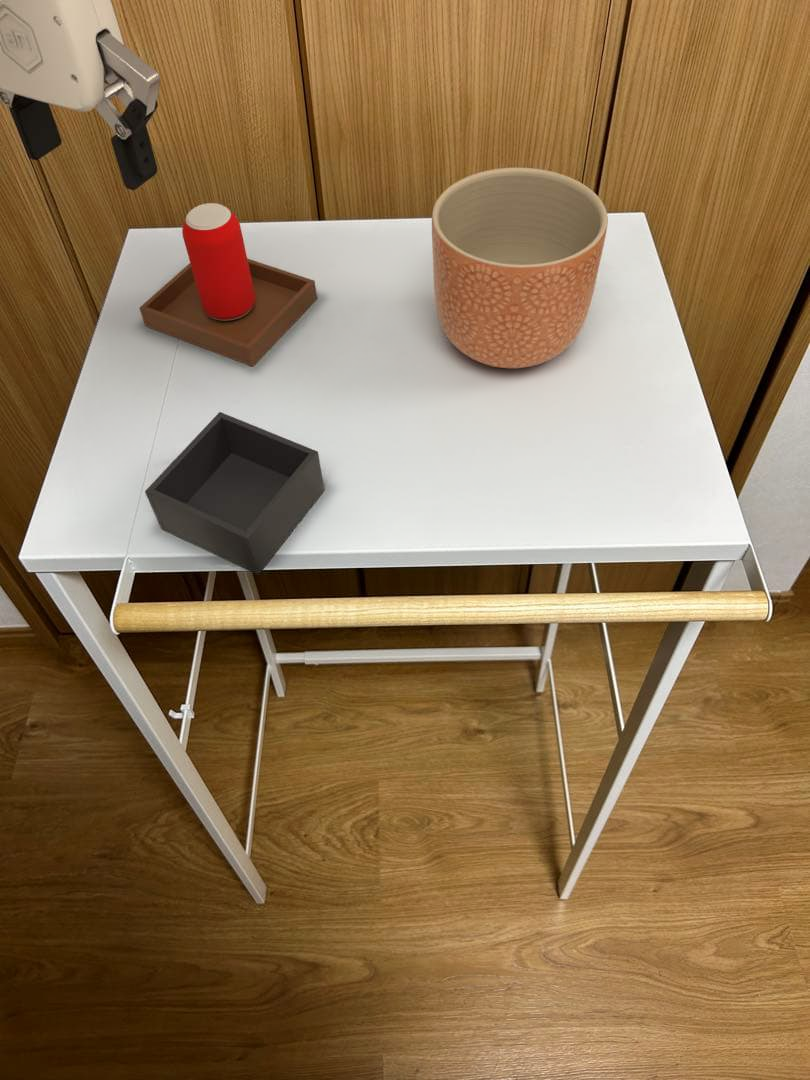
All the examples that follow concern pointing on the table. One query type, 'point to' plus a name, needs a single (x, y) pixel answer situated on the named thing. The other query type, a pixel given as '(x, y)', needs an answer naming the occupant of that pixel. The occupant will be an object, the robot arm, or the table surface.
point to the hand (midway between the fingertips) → (93, 166)
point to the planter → (515, 263)
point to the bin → (237, 491)
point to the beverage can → (218, 261)
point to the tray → (240, 338)
